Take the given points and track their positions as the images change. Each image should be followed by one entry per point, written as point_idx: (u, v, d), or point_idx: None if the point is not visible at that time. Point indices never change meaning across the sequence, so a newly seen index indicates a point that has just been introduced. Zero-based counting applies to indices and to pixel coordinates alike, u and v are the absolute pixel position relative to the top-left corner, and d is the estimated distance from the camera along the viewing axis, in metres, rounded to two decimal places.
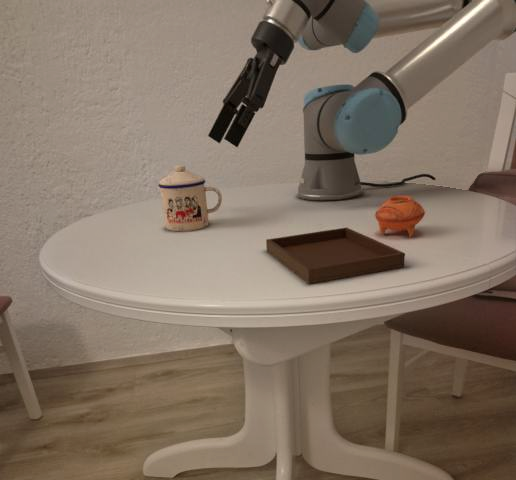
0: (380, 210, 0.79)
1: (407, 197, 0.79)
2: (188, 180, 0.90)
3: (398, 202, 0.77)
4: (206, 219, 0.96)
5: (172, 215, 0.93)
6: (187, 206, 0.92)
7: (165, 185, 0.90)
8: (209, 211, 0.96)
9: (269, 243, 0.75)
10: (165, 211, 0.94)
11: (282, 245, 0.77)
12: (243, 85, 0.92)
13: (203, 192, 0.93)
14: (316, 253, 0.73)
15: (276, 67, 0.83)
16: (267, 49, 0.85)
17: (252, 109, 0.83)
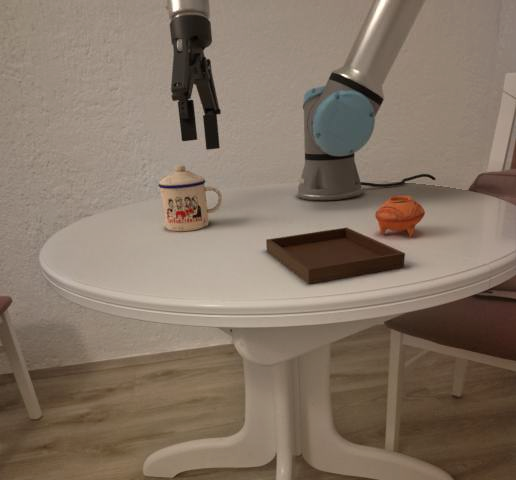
0: (380, 210, 0.79)
1: (407, 197, 0.79)
2: (188, 180, 0.90)
3: (398, 202, 0.77)
4: (206, 219, 0.96)
5: (172, 215, 0.93)
6: (187, 206, 0.92)
7: (165, 185, 0.90)
8: (209, 211, 0.96)
9: (269, 243, 0.75)
10: (165, 211, 0.94)
11: (282, 245, 0.77)
12: (200, 86, 0.94)
13: (203, 192, 0.93)
14: (316, 253, 0.73)
15: (184, 48, 0.83)
16: None
17: (183, 98, 0.84)
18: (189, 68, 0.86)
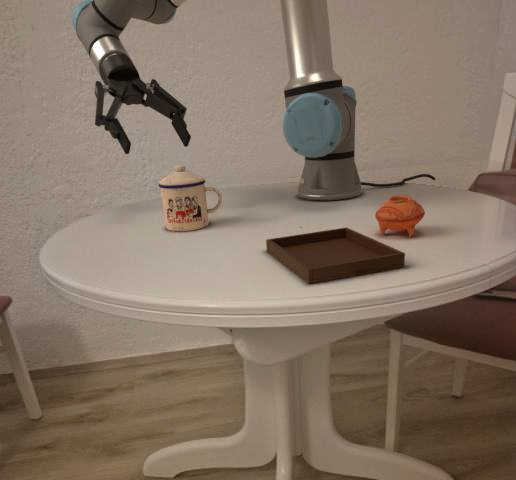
0: (380, 210, 0.79)
1: (407, 197, 0.79)
2: (188, 180, 0.90)
3: (398, 202, 0.77)
4: (206, 219, 0.96)
5: (172, 215, 0.93)
6: (187, 206, 0.92)
7: (165, 185, 0.90)
8: (209, 211, 0.96)
9: (269, 243, 0.75)
10: (165, 211, 0.94)
11: (282, 245, 0.77)
12: (151, 104, 1.03)
13: (203, 192, 0.93)
14: (316, 253, 0.73)
15: (97, 89, 0.97)
16: None
17: (106, 123, 0.95)
18: None
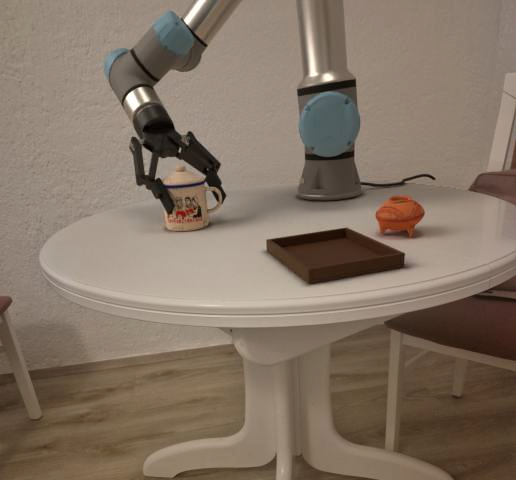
0: (380, 210, 0.79)
1: (407, 197, 0.79)
2: (188, 180, 0.90)
3: (398, 202, 0.77)
4: (206, 219, 0.96)
5: (172, 215, 0.93)
6: (187, 206, 0.92)
7: (165, 185, 0.90)
8: (209, 211, 0.96)
9: (269, 243, 0.75)
10: (165, 211, 0.94)
11: (282, 245, 0.77)
12: (185, 158, 0.98)
13: (203, 192, 0.93)
14: (316, 253, 0.73)
15: (134, 145, 0.92)
16: None
17: (149, 183, 0.91)
18: (152, 154, 0.94)
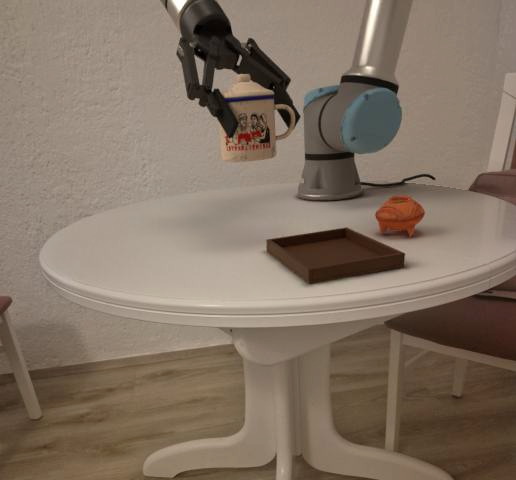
0: (380, 210, 0.79)
1: (407, 197, 0.79)
2: (256, 90, 0.69)
3: (398, 202, 0.77)
4: (275, 147, 0.74)
5: (233, 139, 0.72)
6: (254, 127, 0.70)
7: (226, 98, 0.69)
8: (278, 137, 0.75)
9: (269, 243, 0.75)
10: (223, 135, 0.73)
11: (282, 245, 0.77)
12: (245, 71, 0.76)
13: (273, 110, 0.72)
14: (316, 253, 0.73)
15: (183, 48, 0.71)
16: None
17: (204, 95, 0.69)
18: (206, 61, 0.72)
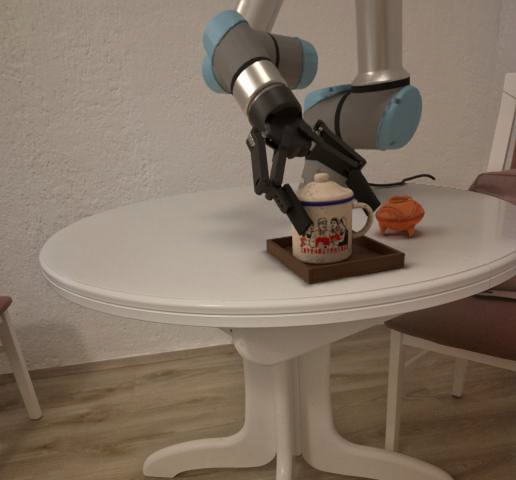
0: (380, 210, 0.79)
1: (407, 197, 0.79)
2: (337, 194, 0.64)
3: (398, 202, 0.77)
4: (351, 247, 0.70)
5: (310, 242, 0.67)
6: (333, 231, 0.66)
7: (305, 201, 0.65)
8: (354, 236, 0.70)
9: (269, 243, 0.75)
10: (298, 237, 0.68)
11: (282, 245, 0.77)
12: (319, 156, 0.72)
13: None
14: None
15: (255, 139, 0.66)
16: None
17: (273, 191, 0.64)
18: (277, 152, 0.67)
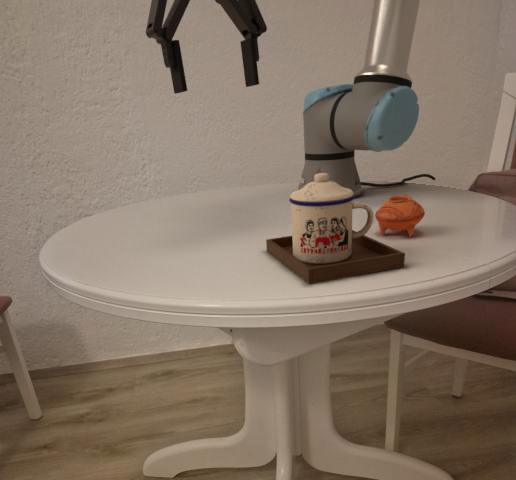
0: (380, 210, 0.79)
1: (407, 197, 0.79)
2: (337, 194, 0.64)
3: (398, 202, 0.77)
4: (351, 247, 0.70)
5: (310, 242, 0.67)
6: (333, 231, 0.66)
7: (305, 201, 0.65)
8: (354, 236, 0.70)
9: (269, 243, 0.75)
10: (298, 236, 0.68)
11: (282, 245, 0.77)
12: (224, 5, 0.73)
13: None
14: None
15: None
16: None
17: (163, 41, 0.69)
18: None
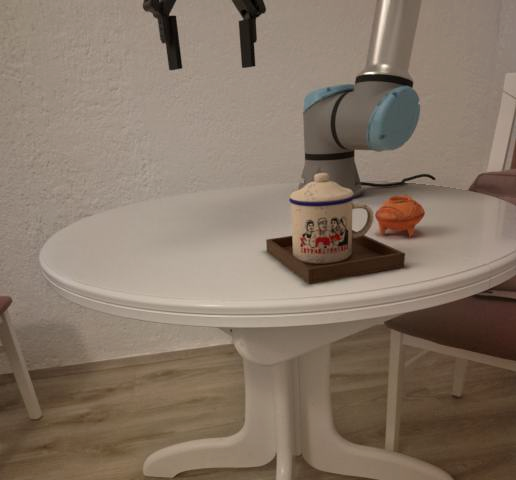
0: (380, 210, 0.79)
1: (407, 197, 0.79)
2: (337, 194, 0.64)
3: (398, 202, 0.77)
4: (351, 247, 0.70)
5: (310, 242, 0.67)
6: (333, 231, 0.66)
7: (305, 201, 0.65)
8: (354, 236, 0.70)
9: (269, 243, 0.75)
10: (298, 236, 0.68)
11: (282, 245, 0.77)
12: None
13: None
14: None
15: None
16: None
17: (159, 16, 0.68)
18: None
